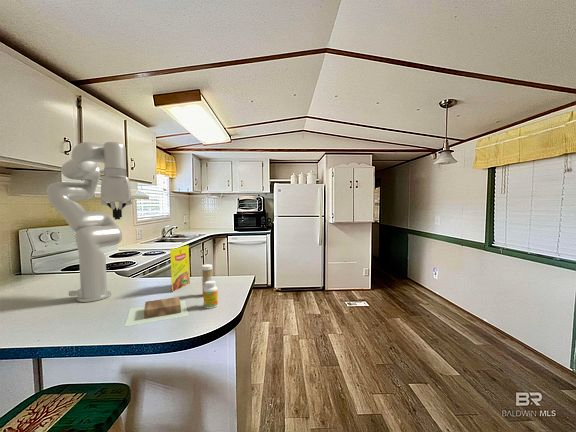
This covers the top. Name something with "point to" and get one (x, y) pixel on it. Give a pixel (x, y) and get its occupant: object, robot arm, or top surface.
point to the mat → (138, 317)
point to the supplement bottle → (210, 295)
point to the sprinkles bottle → (206, 274)
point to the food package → (180, 267)
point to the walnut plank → (162, 307)
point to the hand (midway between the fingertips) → (117, 219)
